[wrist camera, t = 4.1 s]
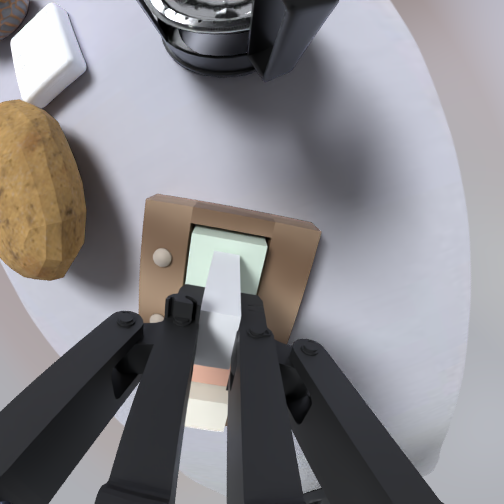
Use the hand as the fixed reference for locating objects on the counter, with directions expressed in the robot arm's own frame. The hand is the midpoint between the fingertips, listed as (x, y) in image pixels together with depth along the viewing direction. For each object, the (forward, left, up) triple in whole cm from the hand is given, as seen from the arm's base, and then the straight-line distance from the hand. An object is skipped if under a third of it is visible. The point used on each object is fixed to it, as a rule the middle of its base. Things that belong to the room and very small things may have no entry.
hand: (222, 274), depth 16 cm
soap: (+14, +18, -4) cm, 23 cm away
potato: (+3, +15, -4) cm, 16 cm away
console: (-7, 0, -4) cm, 8 cm away
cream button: (-13, 0, -3) cm, 13 cm away
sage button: (0, 0, -3) cm, 3 cm away
